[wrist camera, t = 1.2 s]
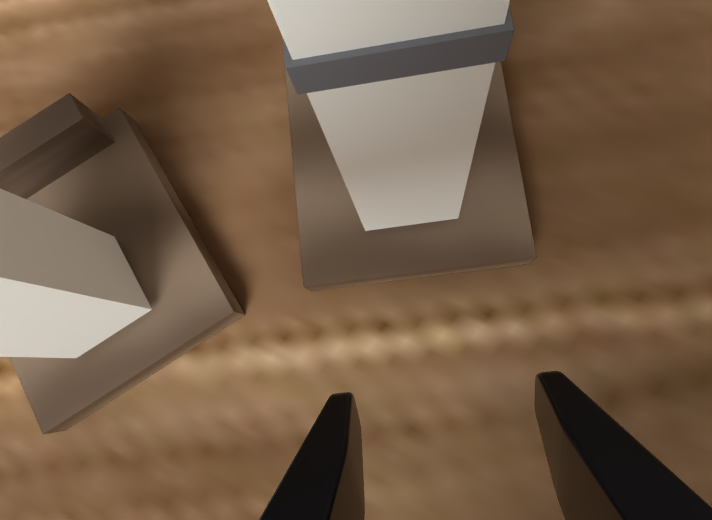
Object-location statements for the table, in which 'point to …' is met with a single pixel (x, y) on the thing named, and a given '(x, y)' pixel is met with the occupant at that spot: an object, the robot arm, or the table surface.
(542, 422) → the robot arm
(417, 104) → the post
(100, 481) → the table surface
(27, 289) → the post
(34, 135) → the base
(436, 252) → the base
